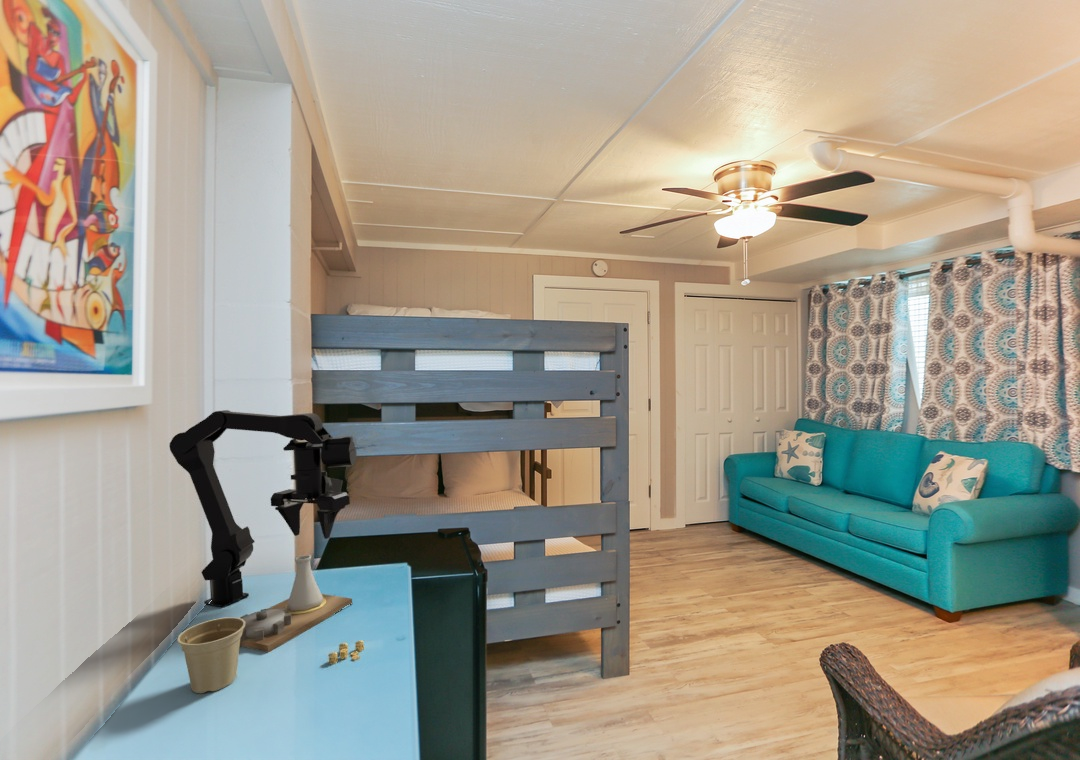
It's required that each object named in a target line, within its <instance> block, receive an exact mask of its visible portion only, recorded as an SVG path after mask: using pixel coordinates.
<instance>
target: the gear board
mask: <svg viewBox="0 0 1080 760" xmlns="http://www.w3.org/2000/svg"><path fill="white" fill-rule="evenodd" d="M321 594H322V596H323V598H324V600H323V601H322V603H321V605H318V606H315V607H312V608H310V609H306V610H298V611H291V610H289V609H288V608H286V607H287V604H288V600H289V598H287V599H285V600H283V601H281V602H279V603H277V604H275V605H273V606H270V607H267V608H263V609H260V610H259V611H255V612H252V613H249V614H244V615H242V616H239V618H241V619H243V620H244V621H245V627H244V629H243V632H242V636H241V637H240V645H239V647H244V648H248V649H252V650H257V651H262V652H265V653H269V652H272V651H273V650H275V649H277V648H279V647H281V646H282V645H284V644H285V643H287V642H289V641H290V640H292V639H294V638H295V637H297V636H299V635H301V634H303V633H304V632H307V631H308V630H309V629H312V628H313V627H315V626H317V625H319V624H320V623H322V622H324V621H326V620H327V619H329V618H330V616H331V617H332V615H333V614H334V613H336V612H338V611H339V610H341V609H342V608H344V607H345V606H347V605H349V604H351V603H352V604H353V598H350V597H344V596H338V595H330V594H325V593H321ZM341 611H342V610H341ZM338 613H339V612H338ZM336 614H337V613H336ZM334 615H335V614H334ZM334 615H333V616H334Z"/></svg>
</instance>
